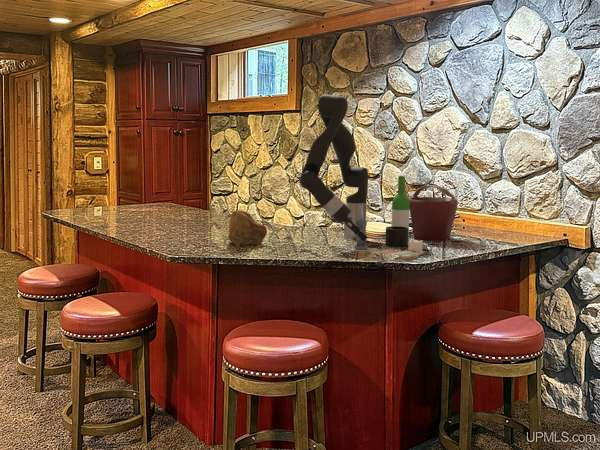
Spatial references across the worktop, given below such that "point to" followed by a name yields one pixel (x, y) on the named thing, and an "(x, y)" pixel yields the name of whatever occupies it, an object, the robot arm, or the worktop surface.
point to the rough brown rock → (245, 229)
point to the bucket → (432, 215)
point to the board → (402, 255)
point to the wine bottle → (401, 206)
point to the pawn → (362, 226)
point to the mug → (396, 236)
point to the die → (415, 246)
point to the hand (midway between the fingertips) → (365, 238)
